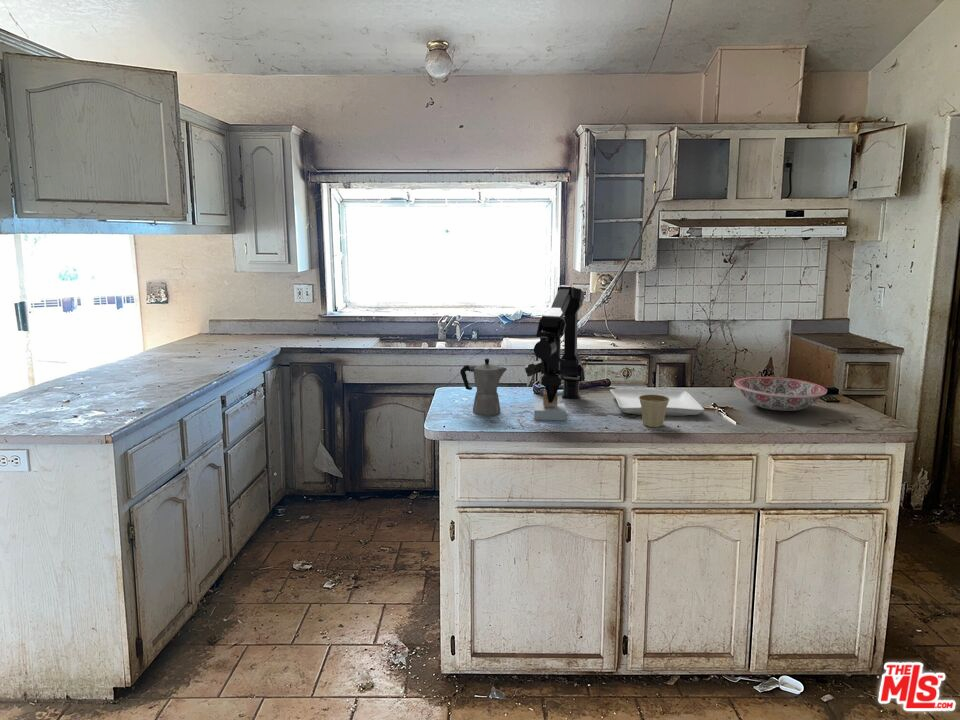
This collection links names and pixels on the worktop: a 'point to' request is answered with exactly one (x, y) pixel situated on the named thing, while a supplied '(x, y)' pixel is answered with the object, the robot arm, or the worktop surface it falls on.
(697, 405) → the square plate
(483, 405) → the coffeepot
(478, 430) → the worktop surface
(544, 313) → the robot arm
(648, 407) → the flower pot
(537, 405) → the base slab
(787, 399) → the ceramic bowl
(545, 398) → the walnut block
